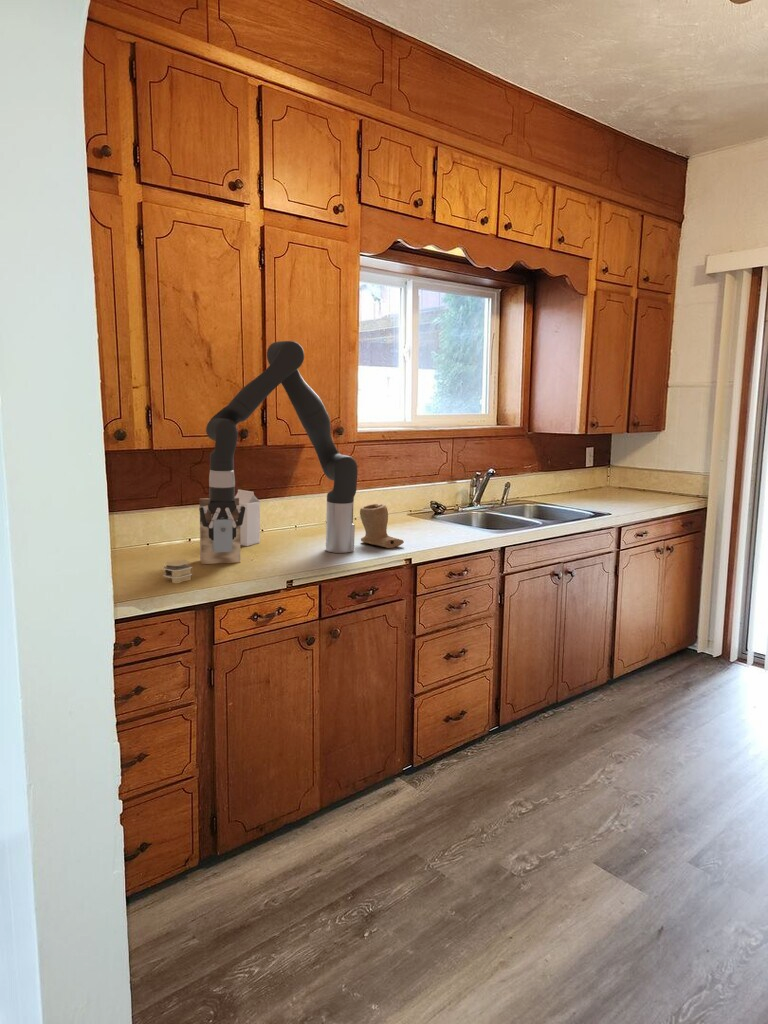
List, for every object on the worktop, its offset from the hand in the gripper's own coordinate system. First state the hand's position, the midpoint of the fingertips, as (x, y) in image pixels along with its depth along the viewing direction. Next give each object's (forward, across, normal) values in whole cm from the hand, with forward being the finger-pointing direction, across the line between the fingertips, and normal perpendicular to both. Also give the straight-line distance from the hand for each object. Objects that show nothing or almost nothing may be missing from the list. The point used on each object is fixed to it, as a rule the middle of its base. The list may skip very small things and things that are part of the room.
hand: (222, 539), depth 208 cm
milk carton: (+9, -11, -30) cm, 34 cm away
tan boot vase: (+9, -57, -20) cm, 61 cm away
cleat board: (+9, 0, -6) cm, 11 cm away
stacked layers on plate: (+9, +14, +12) cm, 21 cm away
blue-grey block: (+4, 0, -2) cm, 4 cm away
